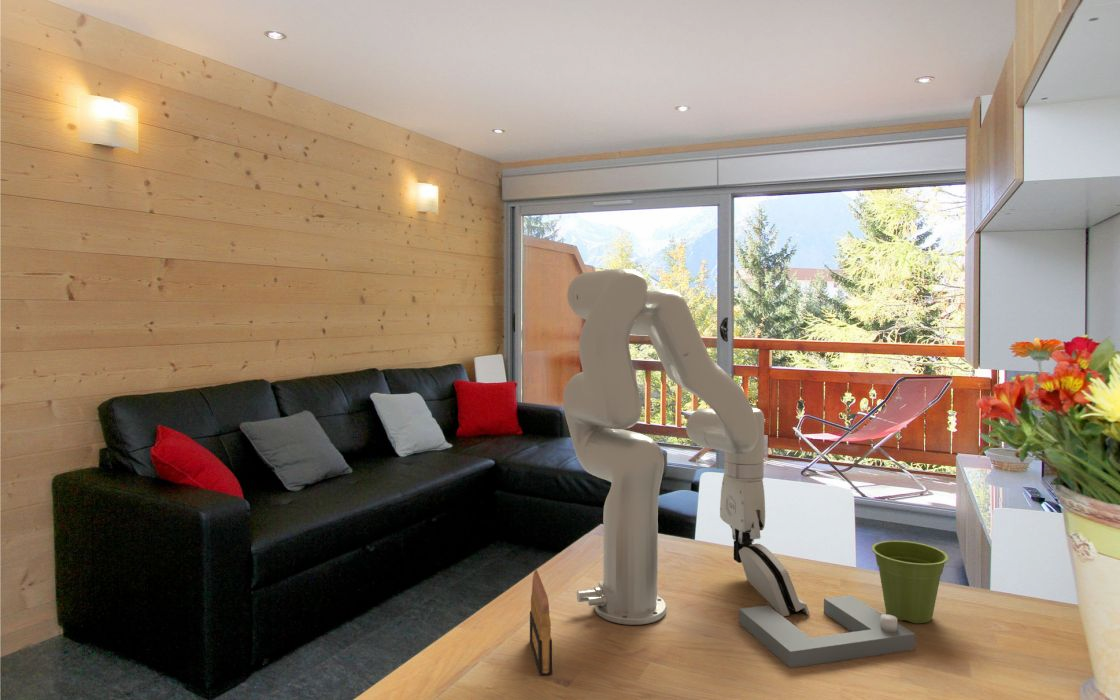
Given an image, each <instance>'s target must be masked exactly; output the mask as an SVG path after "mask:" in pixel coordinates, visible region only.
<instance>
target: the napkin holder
mask: <svg viewBox="0 0 1120 700" xmlns="http://www.w3.org/2000/svg"><path fill="white" fill-rule="evenodd" d="M543 584H544V583H543V582H542V579H541V577H540V575H539V572H538V569H535V570H534V572H533V574H532V587H531V595H530V611H529V644H530V647H531V650H532V654H533V657H534V661H535V665H536V668H537V671H538V675H539V676H548V675H549V676H550V675H552V674H553V639H552V636H551V635H552V634H551V633H552V632H551V631H552V630H551V617H550V605H549V604H550V602H549V598H548V594H547V592H546V590H545V587H544V585H543Z"/></svg>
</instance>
